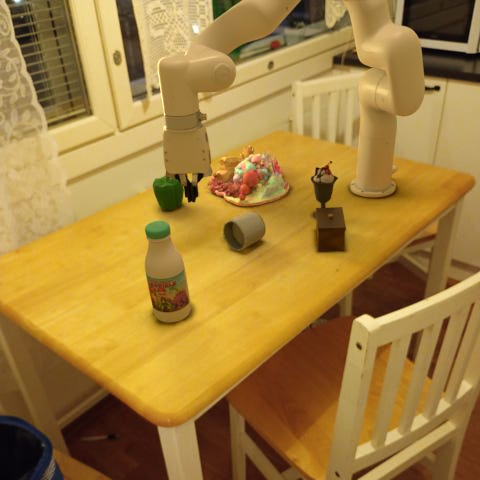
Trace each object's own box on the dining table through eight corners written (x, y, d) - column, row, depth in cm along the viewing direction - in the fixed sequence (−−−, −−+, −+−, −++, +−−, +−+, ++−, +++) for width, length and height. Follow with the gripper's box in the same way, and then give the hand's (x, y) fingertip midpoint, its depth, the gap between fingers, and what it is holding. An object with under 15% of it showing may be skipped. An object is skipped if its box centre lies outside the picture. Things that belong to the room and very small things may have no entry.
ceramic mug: (268, 241, 129) (267, 212, 124) (245, 255, 124) (243, 226, 120) (238, 229, 135) (235, 202, 131) (215, 242, 131) (211, 214, 126)
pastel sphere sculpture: (193, 188, 157) (190, 157, 152) (251, 164, 169) (249, 135, 163) (251, 212, 142) (249, 180, 136) (309, 184, 154) (309, 153, 148)
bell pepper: (150, 211, 147) (144, 177, 141) (164, 198, 153) (159, 165, 147) (177, 214, 144) (171, 180, 138) (190, 201, 150) (185, 168, 144)
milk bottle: (155, 303, 112) (137, 218, 99) (191, 299, 112) (178, 214, 100) (153, 325, 106) (134, 238, 93) (191, 321, 106) (177, 233, 94)
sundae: (335, 221, 135) (337, 164, 126) (309, 220, 136) (309, 164, 127) (336, 209, 140) (339, 154, 131) (311, 208, 141) (312, 154, 132)
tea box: (317, 251, 124) (318, 225, 120) (315, 230, 132) (316, 205, 128) (344, 251, 123) (346, 225, 119) (340, 229, 131) (342, 204, 127)
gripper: (219, 113, 114) (225, 192, 126) (151, 116, 116) (164, 194, 127) (215, 124, 108) (222, 206, 120) (144, 127, 110) (158, 207, 121)
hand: (192, 199), depth 123 cm, fingers closed
